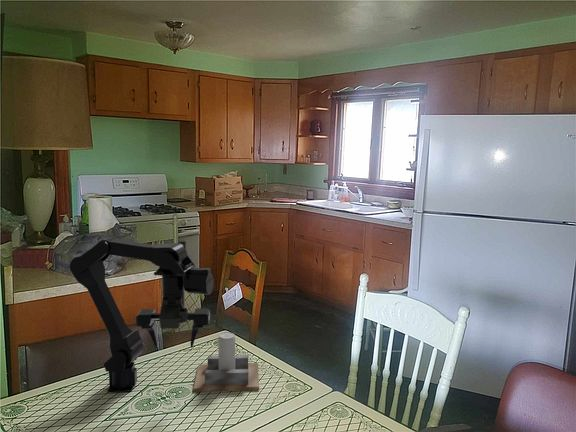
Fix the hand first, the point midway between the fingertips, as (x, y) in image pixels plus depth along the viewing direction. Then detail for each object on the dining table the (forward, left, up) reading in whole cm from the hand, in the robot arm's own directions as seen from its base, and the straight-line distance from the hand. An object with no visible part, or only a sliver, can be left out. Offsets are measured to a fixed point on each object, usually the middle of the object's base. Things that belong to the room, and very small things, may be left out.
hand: (174, 347), depth 125 cm
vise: (+14, +7, -13) cm, 20 cm away
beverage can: (+14, +7, -12) cm, 20 cm away
